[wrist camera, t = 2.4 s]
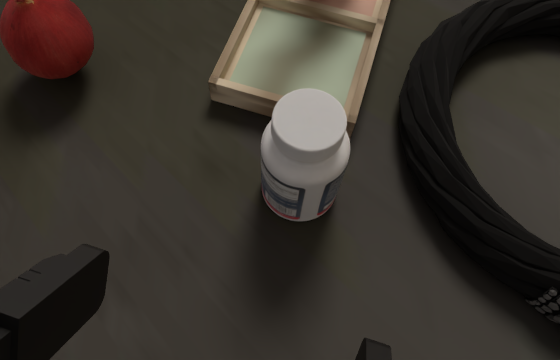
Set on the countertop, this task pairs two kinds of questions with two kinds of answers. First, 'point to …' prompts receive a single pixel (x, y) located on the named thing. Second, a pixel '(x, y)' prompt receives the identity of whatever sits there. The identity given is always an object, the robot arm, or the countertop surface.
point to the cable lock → (448, 158)
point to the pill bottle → (304, 154)
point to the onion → (46, 36)
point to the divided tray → (299, 53)
